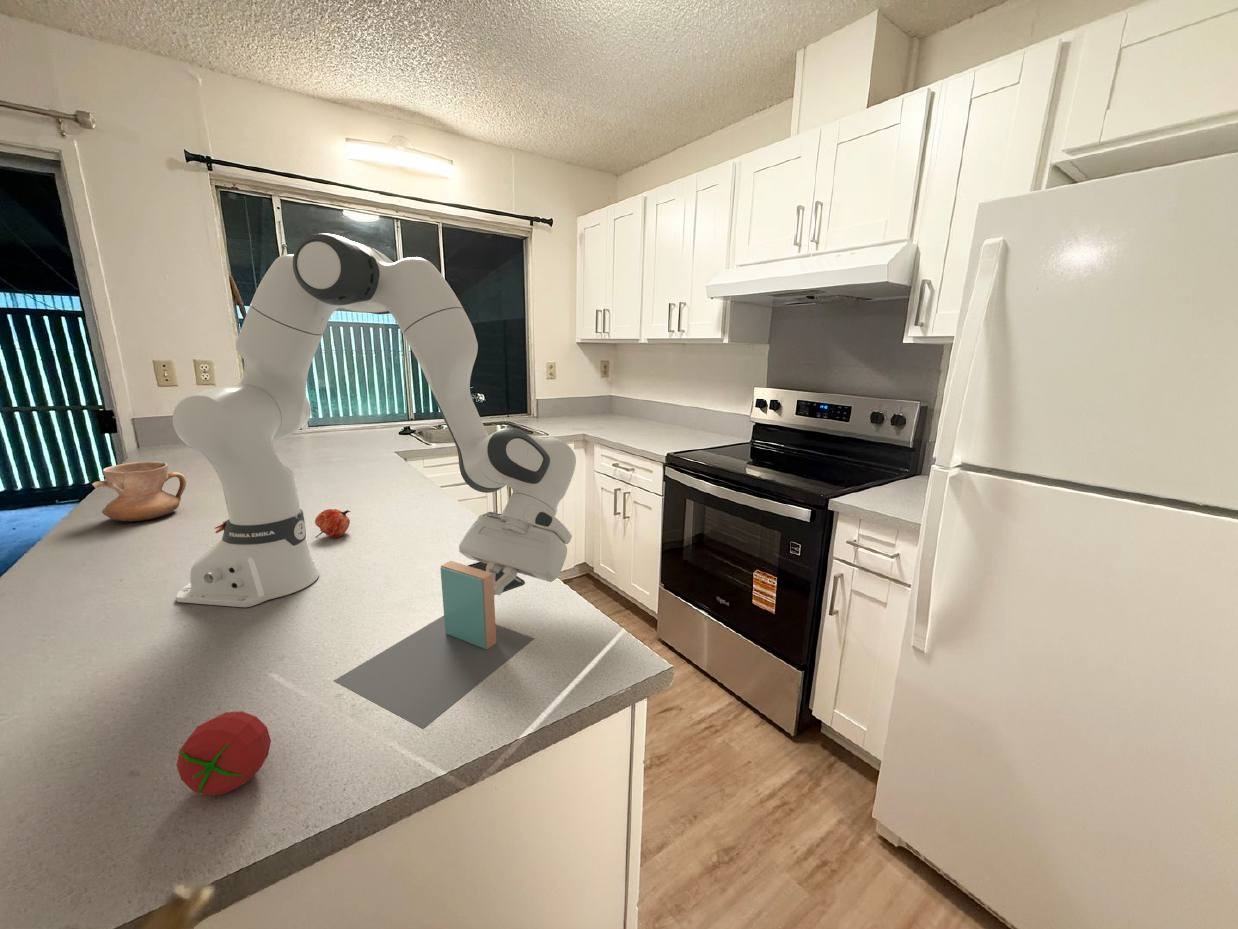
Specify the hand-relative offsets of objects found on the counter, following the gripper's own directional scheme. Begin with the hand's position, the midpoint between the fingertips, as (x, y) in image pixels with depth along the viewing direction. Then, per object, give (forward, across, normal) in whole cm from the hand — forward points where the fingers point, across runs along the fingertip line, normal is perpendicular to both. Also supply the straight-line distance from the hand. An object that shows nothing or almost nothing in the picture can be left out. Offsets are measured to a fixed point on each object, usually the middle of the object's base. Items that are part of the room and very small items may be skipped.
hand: (490, 592), depth 81 cm
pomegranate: (-3, -62, +12) cm, 63 cm away
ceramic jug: (+9, -118, +1) cm, 118 cm away
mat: (+12, 0, -3) cm, 13 cm away
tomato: (+31, -3, -22) cm, 38 cm away
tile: (+8, 0, 0) cm, 8 cm away
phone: (-4, -12, +14) cm, 19 cm away
